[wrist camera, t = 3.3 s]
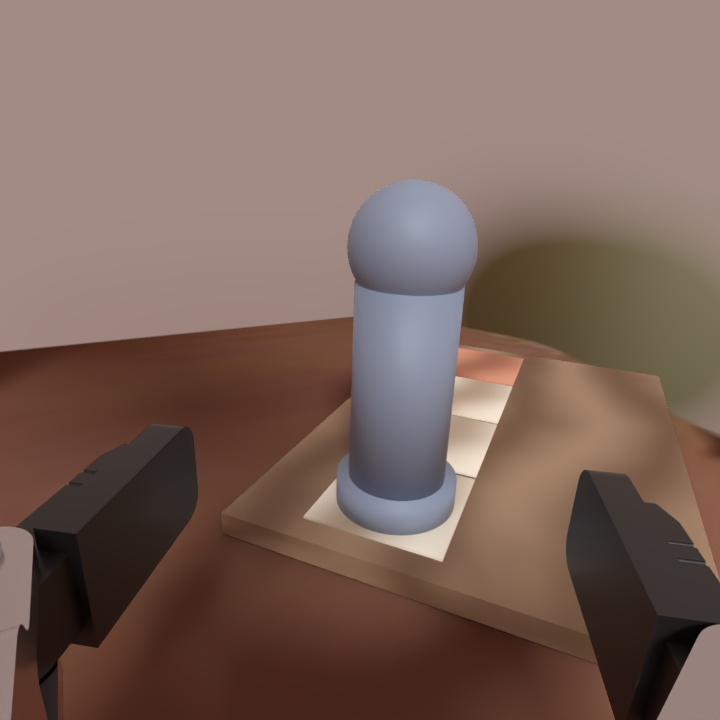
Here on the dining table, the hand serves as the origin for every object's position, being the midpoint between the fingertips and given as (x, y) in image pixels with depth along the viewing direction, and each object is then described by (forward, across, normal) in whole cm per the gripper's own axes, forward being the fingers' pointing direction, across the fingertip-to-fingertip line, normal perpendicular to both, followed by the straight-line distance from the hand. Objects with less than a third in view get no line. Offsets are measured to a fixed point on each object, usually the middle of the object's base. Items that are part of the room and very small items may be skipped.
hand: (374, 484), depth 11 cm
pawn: (+10, 0, +7) cm, 12 cm away
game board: (+18, -5, +8) cm, 20 cm away
